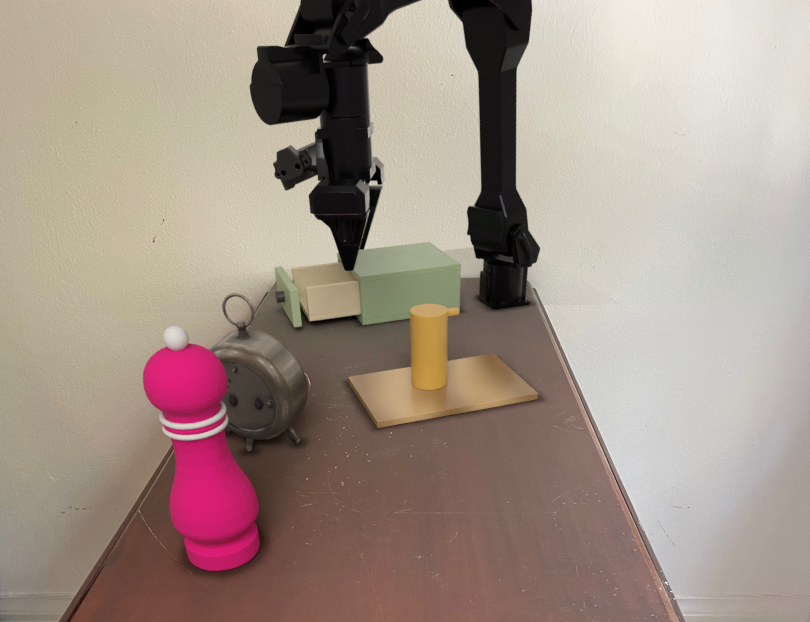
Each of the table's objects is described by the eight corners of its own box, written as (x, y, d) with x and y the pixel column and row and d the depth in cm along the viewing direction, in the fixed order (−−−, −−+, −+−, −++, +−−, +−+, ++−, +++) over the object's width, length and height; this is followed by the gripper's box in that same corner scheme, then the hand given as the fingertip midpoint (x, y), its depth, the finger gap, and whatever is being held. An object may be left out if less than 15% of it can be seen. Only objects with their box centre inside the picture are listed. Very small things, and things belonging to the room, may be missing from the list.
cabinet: (362, 325, 104) (359, 276, 100) (340, 297, 114) (336, 252, 110) (459, 311, 108) (461, 264, 104) (429, 285, 118) (429, 241, 114)
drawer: (286, 328, 101) (281, 291, 98) (271, 302, 111) (266, 267, 108) (388, 314, 105) (387, 278, 102) (366, 289, 114) (364, 256, 111)
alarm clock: (315, 438, 77) (298, 289, 67) (294, 462, 73) (272, 307, 63) (229, 424, 80) (200, 280, 70) (203, 447, 76) (169, 297, 66)
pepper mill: (247, 580, 58) (198, 348, 46) (167, 570, 59) (99, 342, 47) (277, 529, 63) (240, 311, 51) (203, 521, 65) (150, 306, 53)
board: (493, 358, 93) (493, 353, 92) (538, 399, 83) (538, 393, 83) (348, 382, 88) (347, 376, 88) (377, 428, 78) (377, 421, 78)
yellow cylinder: (449, 371, 88) (451, 300, 83) (463, 385, 85) (465, 311, 79) (406, 378, 87) (404, 306, 81) (418, 392, 83) (417, 318, 78)
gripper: (292, 107, 86) (307, 240, 96) (252, 128, 72) (274, 283, 81) (382, 105, 85) (387, 239, 95) (360, 126, 71) (369, 283, 80)
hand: (354, 259), depth 88 cm, fingers open, 9 cm apart
